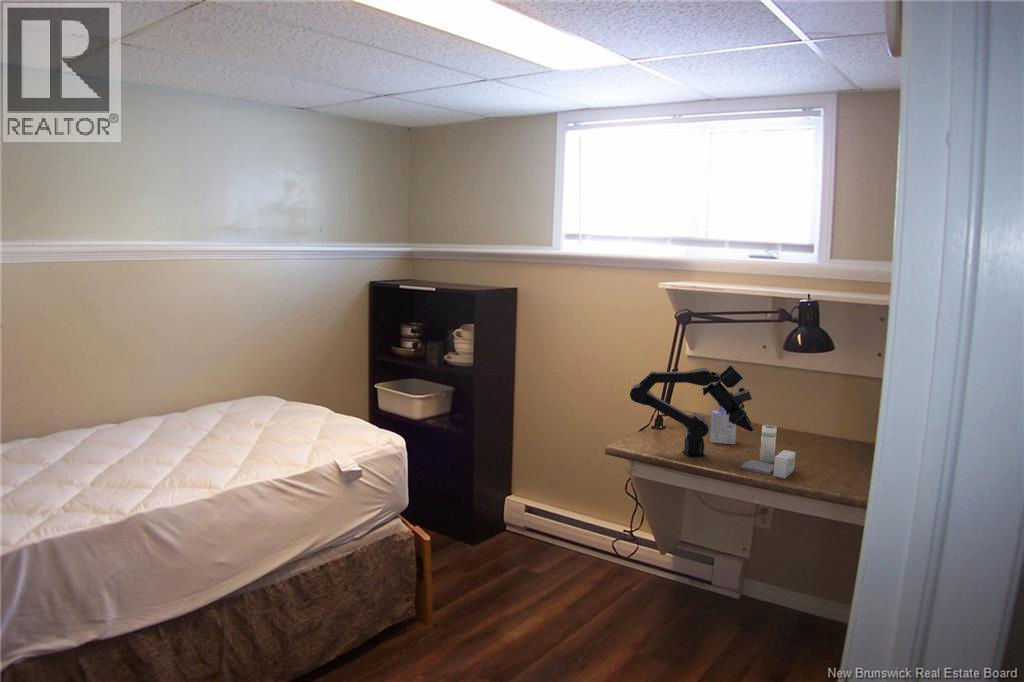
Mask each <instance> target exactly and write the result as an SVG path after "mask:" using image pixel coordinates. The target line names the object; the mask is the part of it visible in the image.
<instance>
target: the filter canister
mask: <svg viewBox="0 0 1024 682" xmlns="http://www.w3.org/2000/svg"><path fill="white" fill-rule="evenodd" d="M777 428H778V427H777V426H775V425H771V424H763V425H762V426H761V440H760V451H759V452H760V453H759V461H760V462H766V463H770V464H774V462H775V456H776V454H775V453H776V440H777V431H778V430H777Z"/></svg>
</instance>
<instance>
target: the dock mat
mask: <svg viewBox="0 0 1024 682" xmlns="http://www.w3.org/2000/svg"><path fill="white" fill-rule="evenodd" d="M740 469H741V470H744V471H748V472H753V473H757V474H763V475H768V476H771V474H772V473H774V463H765V462H762V461H760V460H755V459H749V460H747V461H746V462H745V463H744V464H741V466H740Z"/></svg>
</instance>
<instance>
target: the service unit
mask: <svg viewBox="0 0 1024 682" xmlns="http://www.w3.org/2000/svg"><path fill="white" fill-rule="evenodd" d="M795 460H796V451H793V450H792V451H791V450H787V449H783V450H782V451H781V452H779V453H778V454H777V455H776V454H775V456H774V462H773V464H774V472H773V477H775V478H780V479H786V478H788V477H789V476H790V475H792V473H794V472H795V463H796V461H795ZM793 471H794V472H793Z"/></svg>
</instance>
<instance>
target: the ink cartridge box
mask: <svg viewBox="0 0 1024 682" xmlns="http://www.w3.org/2000/svg"><path fill="white" fill-rule="evenodd" d="M729 414H730V413H729ZM729 414H727V413H726V411H725V410H724V409H723V408H722V407H721V406H719V410H711V413H710V415H711V417H710V431H709V432H710V434H709V442H710V443H713V444H714V443H715V444H727V445H729V444H730V445H735V444H736V439H737V438H736V437H737V426H738V425H735V424H732V423H731V422H730V421H729V418H728V416H729Z"/></svg>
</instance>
